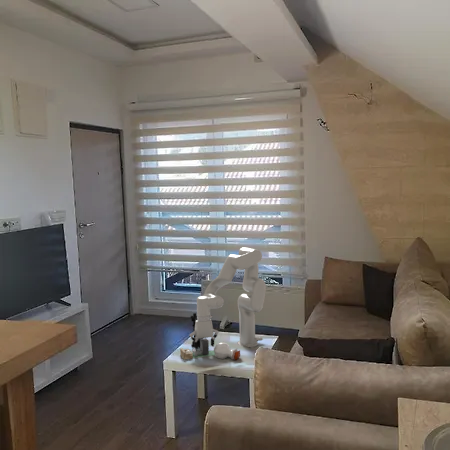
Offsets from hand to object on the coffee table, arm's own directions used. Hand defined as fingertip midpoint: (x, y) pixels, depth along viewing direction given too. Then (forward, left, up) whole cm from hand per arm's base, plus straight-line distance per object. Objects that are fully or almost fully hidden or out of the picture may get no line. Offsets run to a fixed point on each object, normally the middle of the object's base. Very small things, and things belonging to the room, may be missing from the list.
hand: (204, 347), depth 272 cm
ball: (+10, 0, -2) cm, 10 cm away
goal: (+10, 0, -4) cm, 11 cm away
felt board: (+1, 0, -5) cm, 6 cm away
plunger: (+2, 0, -4) cm, 4 cm away
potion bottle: (-10, +10, -6) cm, 15 cm away
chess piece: (-2, -16, -6) cm, 17 cm away
